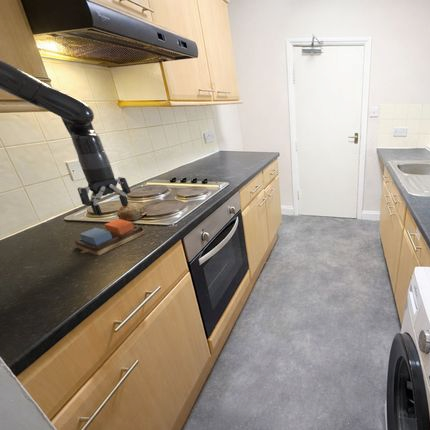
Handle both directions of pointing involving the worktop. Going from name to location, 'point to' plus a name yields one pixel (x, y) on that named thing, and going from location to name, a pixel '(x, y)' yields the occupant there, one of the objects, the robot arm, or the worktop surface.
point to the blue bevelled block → (96, 236)
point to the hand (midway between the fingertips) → (112, 210)
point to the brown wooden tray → (111, 241)
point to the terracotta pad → (119, 227)
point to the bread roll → (131, 211)
